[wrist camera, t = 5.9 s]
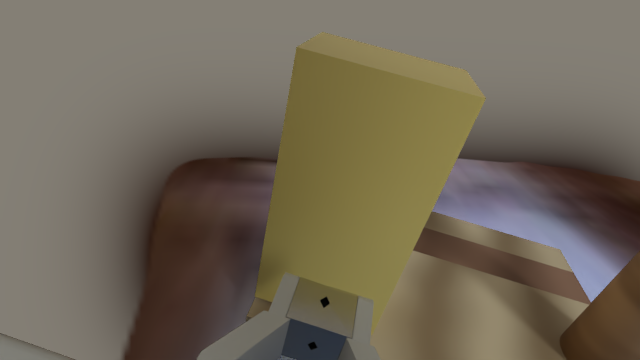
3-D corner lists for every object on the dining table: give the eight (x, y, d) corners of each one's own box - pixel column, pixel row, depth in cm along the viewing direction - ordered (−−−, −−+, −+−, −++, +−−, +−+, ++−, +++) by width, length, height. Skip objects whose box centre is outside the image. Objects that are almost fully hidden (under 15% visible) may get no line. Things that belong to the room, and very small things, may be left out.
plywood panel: (551, 260, 27) (559, 249, 27) (663, 473, 15) (683, 462, 15) (310, 188, 29) (313, 175, 28) (244, 331, 17) (246, 316, 16)
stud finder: (372, 335, 17) (485, 98, 10) (254, 296, 17) (296, 47, 11) (377, 273, 20) (465, 69, 14) (280, 243, 21) (323, 31, 14)
